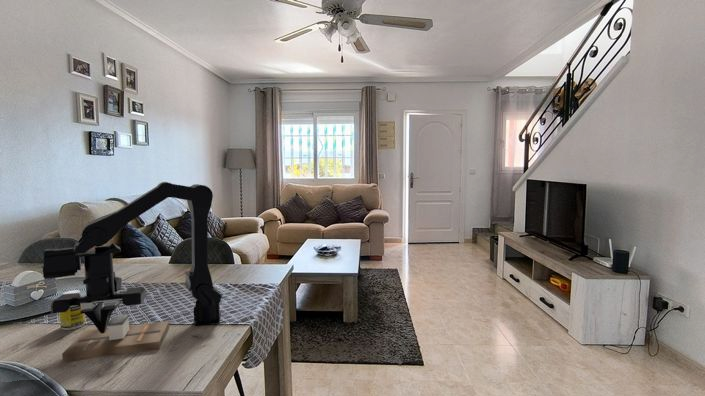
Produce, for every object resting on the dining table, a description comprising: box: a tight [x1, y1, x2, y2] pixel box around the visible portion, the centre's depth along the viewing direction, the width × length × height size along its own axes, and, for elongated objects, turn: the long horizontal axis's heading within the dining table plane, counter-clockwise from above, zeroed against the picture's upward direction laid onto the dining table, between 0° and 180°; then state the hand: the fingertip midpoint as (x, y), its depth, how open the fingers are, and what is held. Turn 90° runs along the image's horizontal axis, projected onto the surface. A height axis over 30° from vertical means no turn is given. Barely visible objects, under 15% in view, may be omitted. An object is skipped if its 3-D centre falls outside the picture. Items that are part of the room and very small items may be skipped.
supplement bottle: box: [59, 289, 86, 331], centre depth 100 cm, size 5×5×10 cm
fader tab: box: [107, 313, 130, 340], centre depth 90 cm, size 3×5×4 cm, turn 17°
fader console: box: [61, 320, 170, 363], centre depth 91 cm, size 20×12×2 cm, turn 107°
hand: (103, 332), depth 89 cm, fingers closed
